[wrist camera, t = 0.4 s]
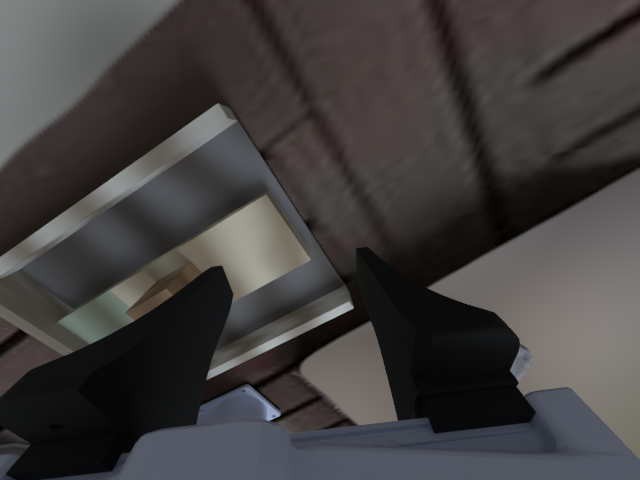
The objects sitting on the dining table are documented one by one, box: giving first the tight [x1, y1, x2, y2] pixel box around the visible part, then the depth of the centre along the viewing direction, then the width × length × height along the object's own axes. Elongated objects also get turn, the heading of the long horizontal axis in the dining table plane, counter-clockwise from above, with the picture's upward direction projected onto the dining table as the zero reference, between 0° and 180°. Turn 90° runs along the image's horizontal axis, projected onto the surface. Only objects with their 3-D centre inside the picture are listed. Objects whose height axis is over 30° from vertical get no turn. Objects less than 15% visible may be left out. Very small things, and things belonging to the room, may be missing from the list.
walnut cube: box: [125, 261, 202, 320], centre depth 19 cm, size 4×4×4 cm
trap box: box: [0, 103, 354, 380], centre depth 22 cm, size 26×20×3 cm
